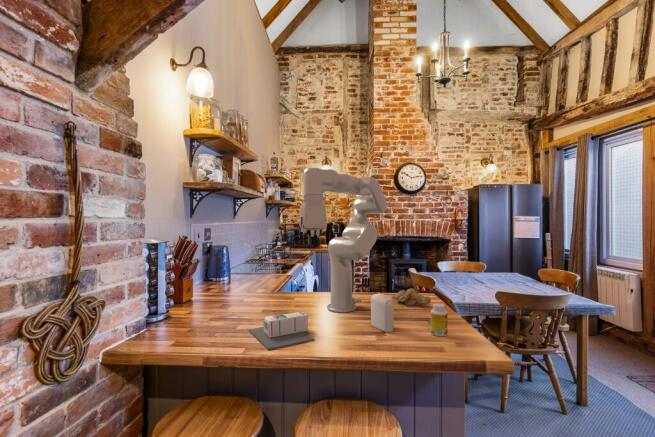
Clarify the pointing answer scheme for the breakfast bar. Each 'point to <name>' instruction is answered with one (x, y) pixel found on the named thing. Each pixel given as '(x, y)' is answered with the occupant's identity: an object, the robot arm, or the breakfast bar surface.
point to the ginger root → (411, 298)
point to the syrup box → (285, 324)
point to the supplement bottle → (439, 320)
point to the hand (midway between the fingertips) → (313, 246)
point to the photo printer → (382, 312)
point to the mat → (279, 339)
